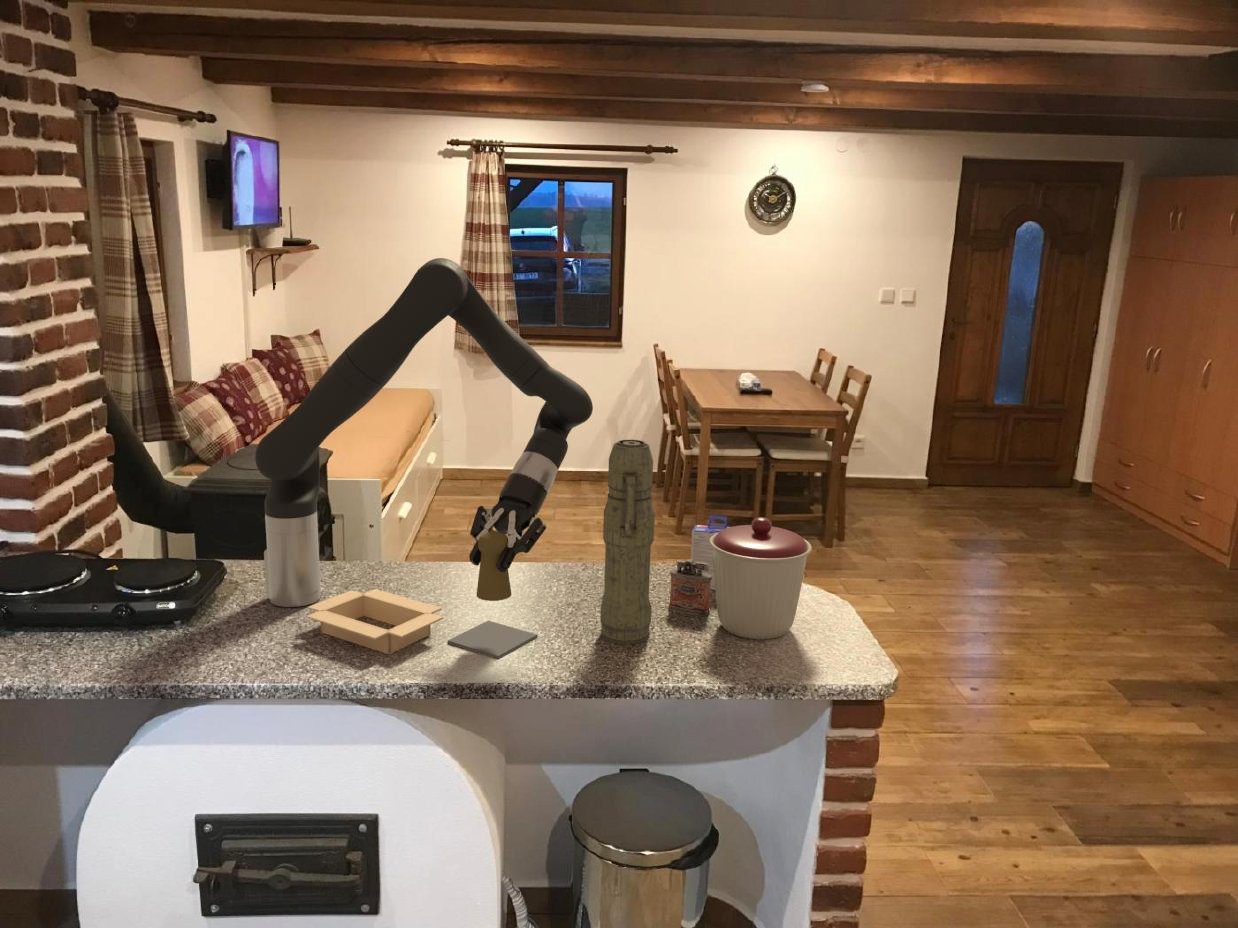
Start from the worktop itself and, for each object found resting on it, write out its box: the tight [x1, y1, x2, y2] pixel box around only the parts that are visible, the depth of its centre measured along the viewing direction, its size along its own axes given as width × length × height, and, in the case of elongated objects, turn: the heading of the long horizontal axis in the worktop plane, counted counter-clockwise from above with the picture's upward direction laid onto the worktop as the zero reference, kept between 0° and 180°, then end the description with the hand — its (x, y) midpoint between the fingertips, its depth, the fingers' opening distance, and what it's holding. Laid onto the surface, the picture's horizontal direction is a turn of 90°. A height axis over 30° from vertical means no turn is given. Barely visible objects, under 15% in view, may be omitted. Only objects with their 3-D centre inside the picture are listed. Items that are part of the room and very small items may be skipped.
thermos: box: [599, 439, 656, 645], centre depth 170 cm, size 9×12×35 cm
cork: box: [476, 532, 512, 602], centre depth 167 cm, size 6×6×11 cm
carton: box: [305, 588, 444, 655], centre depth 171 cm, size 22×16×4 cm
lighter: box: [668, 558, 712, 616], centre depth 185 cm, size 8×3×10 cm, turn 68°
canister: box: [710, 516, 813, 640], centre depth 176 cm, size 18×18×21 cm
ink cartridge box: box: [690, 514, 731, 591], centre depth 198 cm, size 10×6×14 cm, turn 78°
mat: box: [447, 620, 538, 660], centre depth 170 cm, size 11×11×1 cm
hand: (486, 566), depth 165 cm, fingers closed on cork, 5 cm apart
